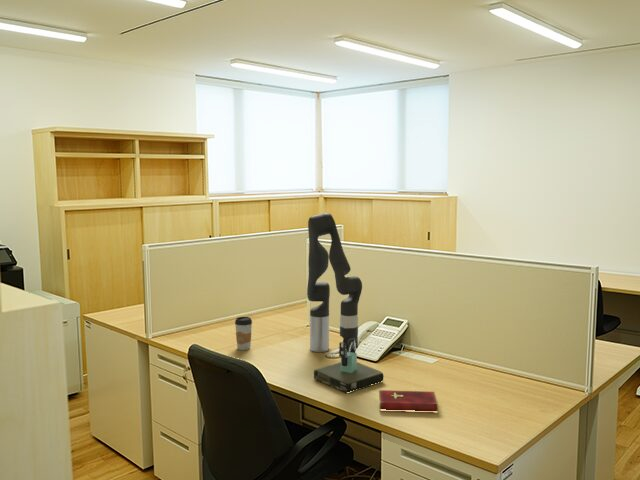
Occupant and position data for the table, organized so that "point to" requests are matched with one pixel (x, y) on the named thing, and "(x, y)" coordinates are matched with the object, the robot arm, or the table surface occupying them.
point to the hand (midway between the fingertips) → (348, 362)
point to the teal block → (350, 363)
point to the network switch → (348, 377)
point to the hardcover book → (408, 400)
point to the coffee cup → (243, 332)
